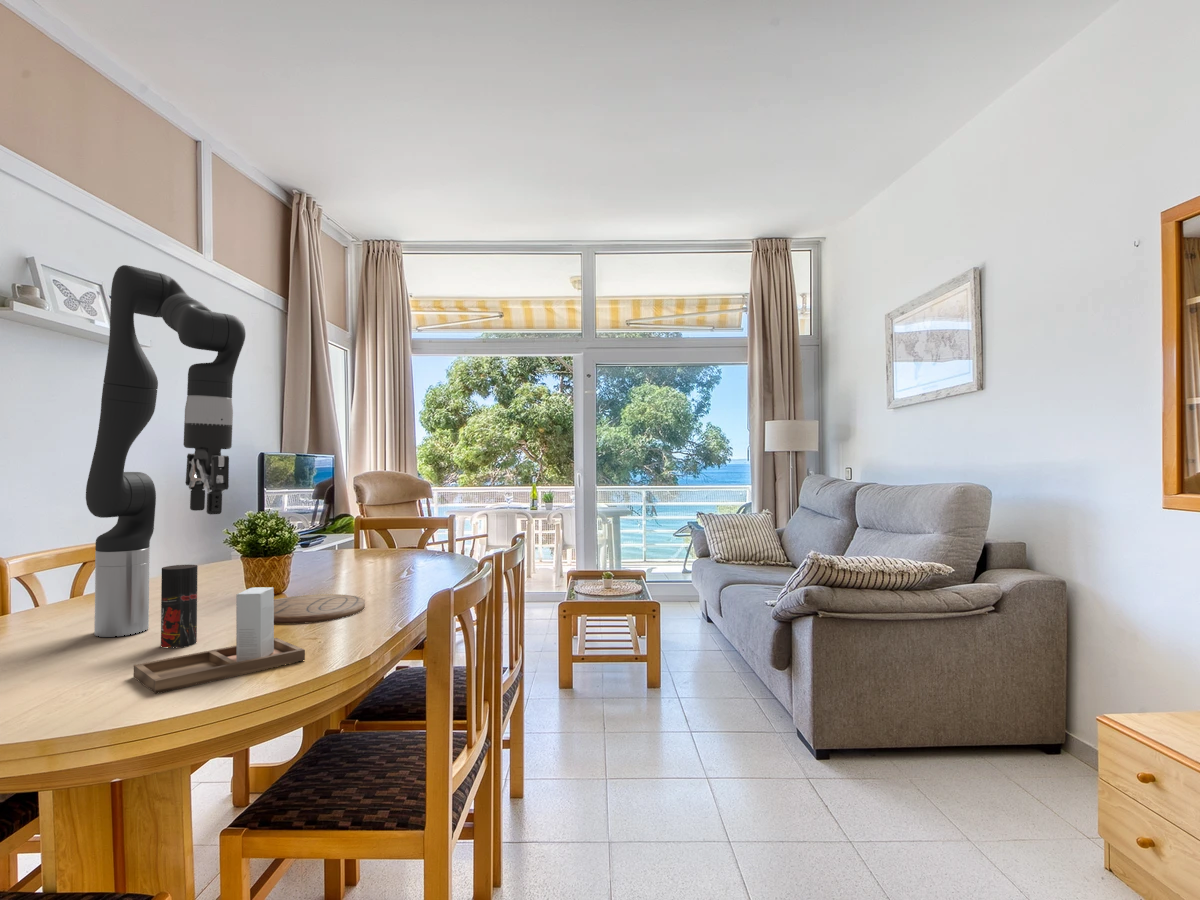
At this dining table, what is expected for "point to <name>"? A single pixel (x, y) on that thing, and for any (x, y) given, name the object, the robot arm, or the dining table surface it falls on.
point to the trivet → (316, 608)
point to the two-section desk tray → (210, 666)
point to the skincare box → (254, 623)
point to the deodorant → (179, 606)
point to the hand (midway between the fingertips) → (205, 512)
